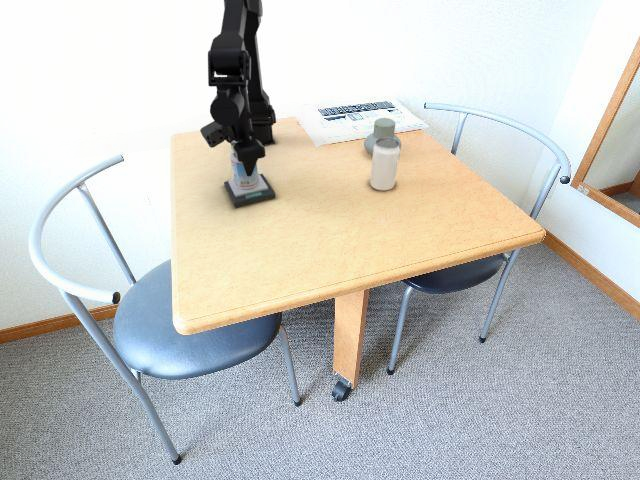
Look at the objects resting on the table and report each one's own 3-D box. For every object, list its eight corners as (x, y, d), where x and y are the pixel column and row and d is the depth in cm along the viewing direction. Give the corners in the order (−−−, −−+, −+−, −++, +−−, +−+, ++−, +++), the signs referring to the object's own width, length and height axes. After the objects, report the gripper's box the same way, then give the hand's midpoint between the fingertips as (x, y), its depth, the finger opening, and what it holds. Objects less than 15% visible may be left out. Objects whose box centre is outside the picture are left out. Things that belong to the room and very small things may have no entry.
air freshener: (392, 145, 114) (397, 114, 108) (403, 157, 108) (409, 125, 102) (359, 149, 112) (361, 118, 106) (369, 162, 106) (372, 129, 100)
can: (396, 180, 99) (402, 138, 91) (392, 193, 94) (398, 150, 86) (372, 176, 100) (377, 135, 92) (367, 189, 96) (371, 146, 88)
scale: (263, 178, 100) (262, 171, 98) (275, 198, 92) (275, 190, 91) (224, 187, 96) (223, 179, 95) (234, 208, 89) (233, 200, 88)
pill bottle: (263, 180, 95) (258, 139, 87) (250, 192, 91) (244, 150, 83) (243, 175, 97) (237, 135, 89) (230, 186, 92) (222, 145, 85)
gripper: (191, 99, 85) (205, 159, 95) (208, 130, 72) (222, 196, 82) (238, 92, 88) (247, 151, 98) (262, 120, 75) (269, 185, 86)
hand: (245, 169), depth 91 cm, fingers closed on pill bottle, 6 cm apart
